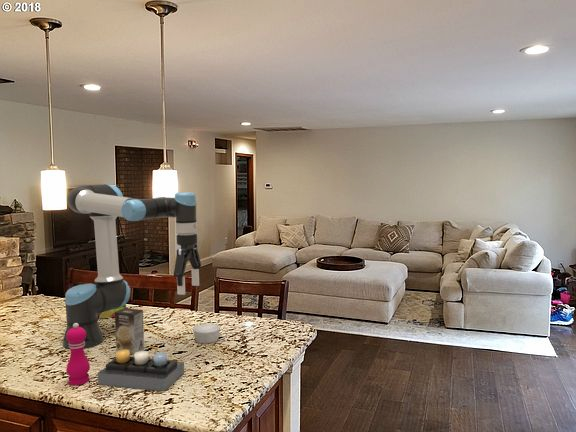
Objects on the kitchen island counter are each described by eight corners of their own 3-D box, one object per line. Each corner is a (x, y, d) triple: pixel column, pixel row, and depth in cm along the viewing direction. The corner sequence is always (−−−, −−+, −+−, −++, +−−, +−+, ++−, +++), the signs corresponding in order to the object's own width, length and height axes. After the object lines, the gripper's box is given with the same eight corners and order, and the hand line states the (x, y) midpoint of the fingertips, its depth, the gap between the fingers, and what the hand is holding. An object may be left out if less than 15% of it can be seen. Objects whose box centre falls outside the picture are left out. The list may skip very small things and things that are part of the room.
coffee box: (115, 352, 181) (113, 311, 179) (126, 346, 187) (124, 307, 185) (135, 354, 178) (133, 314, 176) (145, 348, 184) (143, 309, 182)
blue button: (151, 376, 154) (150, 356, 153) (158, 370, 158) (157, 351, 157) (163, 377, 153) (163, 357, 152) (170, 371, 157) (169, 352, 156)
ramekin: (214, 345, 187) (214, 332, 186) (188, 344, 189) (188, 331, 188) (224, 336, 198) (223, 324, 197) (199, 334, 200) (199, 322, 199)
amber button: (113, 372, 157) (113, 353, 156) (121, 367, 161) (120, 349, 160) (125, 373, 156) (124, 354, 155) (132, 368, 160) (132, 349, 159)
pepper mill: (71, 377, 159) (68, 320, 157) (93, 376, 159) (90, 319, 158) (63, 386, 152) (59, 327, 150) (86, 385, 152) (83, 326, 150)
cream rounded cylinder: (132, 374, 155) (131, 355, 154) (139, 369, 159) (138, 350, 159) (144, 375, 154) (143, 356, 154) (151, 370, 158) (150, 351, 158)
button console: (98, 384, 153) (97, 368, 152) (122, 367, 166) (121, 352, 166) (164, 391, 147) (164, 374, 147) (184, 372, 161) (183, 357, 161)
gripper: (182, 238, 160) (184, 298, 162) (208, 229, 185) (209, 282, 187) (162, 238, 162) (164, 298, 163) (190, 229, 186) (192, 281, 188)
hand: (188, 289), depth 175 cm, fingers open, 13 cm apart
